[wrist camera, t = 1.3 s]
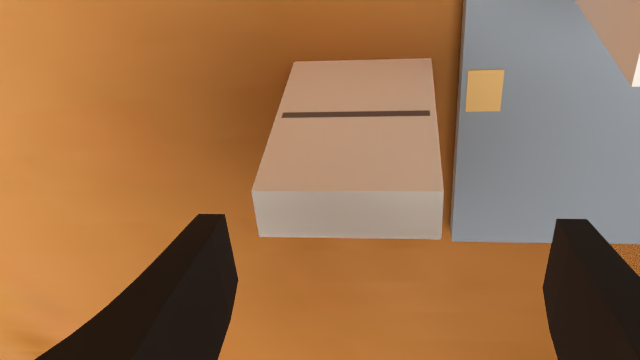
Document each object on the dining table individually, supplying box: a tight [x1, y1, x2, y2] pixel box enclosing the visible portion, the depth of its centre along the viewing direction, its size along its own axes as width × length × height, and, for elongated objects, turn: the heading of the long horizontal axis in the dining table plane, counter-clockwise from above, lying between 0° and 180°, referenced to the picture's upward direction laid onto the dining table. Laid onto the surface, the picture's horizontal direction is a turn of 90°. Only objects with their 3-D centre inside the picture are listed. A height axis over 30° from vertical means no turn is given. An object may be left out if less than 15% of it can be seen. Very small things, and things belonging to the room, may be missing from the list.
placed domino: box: [251, 58, 444, 239], centre depth 20 cm, size 2×5×8 cm, turn 94°
